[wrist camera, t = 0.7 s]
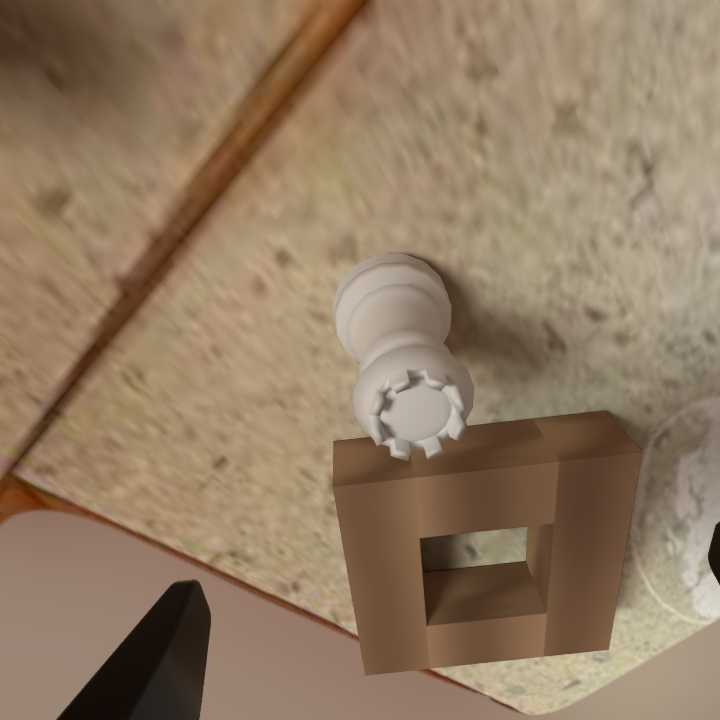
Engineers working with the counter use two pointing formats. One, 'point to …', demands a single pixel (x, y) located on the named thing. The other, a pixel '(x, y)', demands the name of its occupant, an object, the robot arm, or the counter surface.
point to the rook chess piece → (402, 355)
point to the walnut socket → (483, 513)
